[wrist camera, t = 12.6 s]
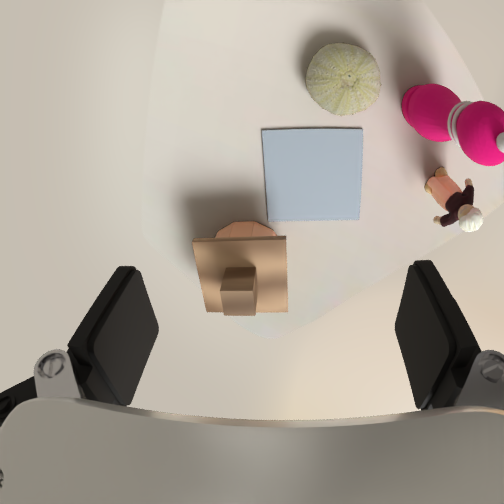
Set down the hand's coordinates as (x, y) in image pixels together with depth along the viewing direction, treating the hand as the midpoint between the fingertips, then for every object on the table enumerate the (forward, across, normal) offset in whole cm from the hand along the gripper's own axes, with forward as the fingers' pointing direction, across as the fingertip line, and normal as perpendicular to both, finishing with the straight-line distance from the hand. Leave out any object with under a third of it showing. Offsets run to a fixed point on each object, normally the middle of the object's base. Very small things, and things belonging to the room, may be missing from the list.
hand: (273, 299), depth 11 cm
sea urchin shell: (+34, -8, -6) cm, 35 cm away
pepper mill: (+34, -19, -3) cm, 39 cm away
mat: (+33, -4, +7) cm, 34 cm away
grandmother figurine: (+34, -22, +8) cm, 41 cm away
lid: (+28, +6, +19) cm, 34 cm away
